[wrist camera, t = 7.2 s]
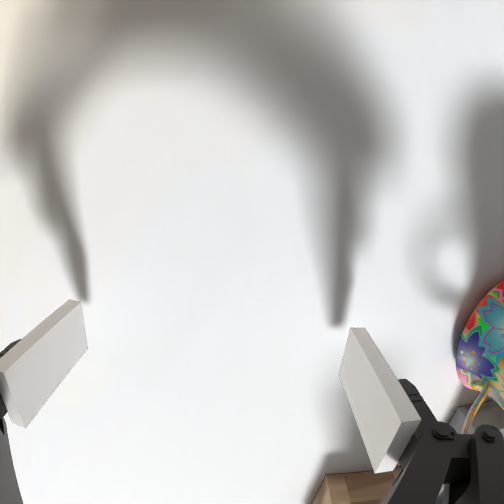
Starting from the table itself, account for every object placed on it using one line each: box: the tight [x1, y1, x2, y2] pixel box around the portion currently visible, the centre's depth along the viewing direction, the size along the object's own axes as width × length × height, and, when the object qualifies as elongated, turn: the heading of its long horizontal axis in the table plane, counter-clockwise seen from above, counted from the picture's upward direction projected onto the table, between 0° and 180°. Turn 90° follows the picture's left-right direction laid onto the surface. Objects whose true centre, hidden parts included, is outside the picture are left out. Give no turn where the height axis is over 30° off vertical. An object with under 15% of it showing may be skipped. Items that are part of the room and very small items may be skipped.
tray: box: [435, 400, 504, 504], centre depth 18 cm, size 14×10×4 cm
